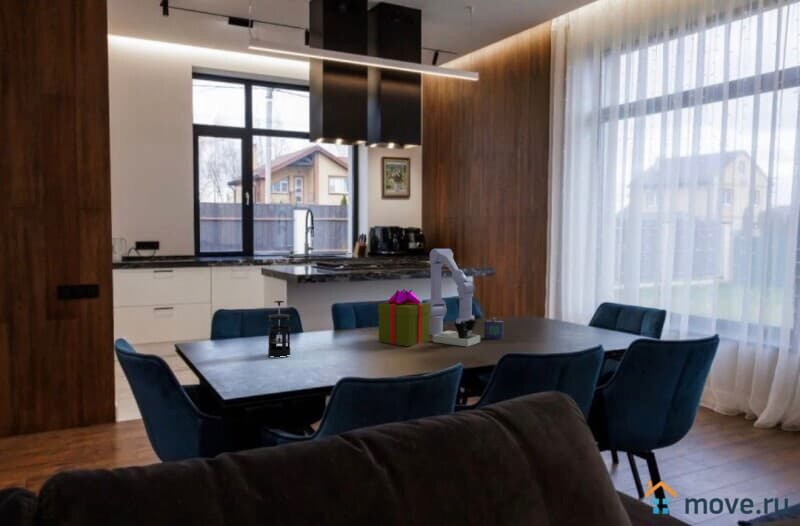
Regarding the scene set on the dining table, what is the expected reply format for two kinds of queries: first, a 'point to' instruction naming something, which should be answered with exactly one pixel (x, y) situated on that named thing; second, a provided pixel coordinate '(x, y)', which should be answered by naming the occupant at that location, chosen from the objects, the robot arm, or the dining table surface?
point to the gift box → (403, 319)
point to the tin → (467, 334)
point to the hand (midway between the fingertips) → (465, 336)
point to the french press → (273, 330)
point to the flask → (493, 329)
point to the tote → (457, 340)
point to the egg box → (449, 334)
